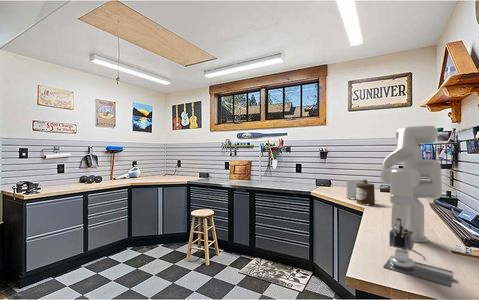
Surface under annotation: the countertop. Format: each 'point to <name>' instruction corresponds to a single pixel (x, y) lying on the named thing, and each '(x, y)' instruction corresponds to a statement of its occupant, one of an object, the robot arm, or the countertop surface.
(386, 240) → the countertop surface
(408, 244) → the socket
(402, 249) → the pliers
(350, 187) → the hard drive box
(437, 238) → the countertop surface
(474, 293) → the countertop surface
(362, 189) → the wooden container
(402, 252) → the lever switch plate
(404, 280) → the countertop surface
